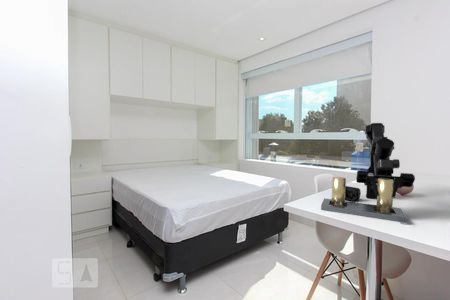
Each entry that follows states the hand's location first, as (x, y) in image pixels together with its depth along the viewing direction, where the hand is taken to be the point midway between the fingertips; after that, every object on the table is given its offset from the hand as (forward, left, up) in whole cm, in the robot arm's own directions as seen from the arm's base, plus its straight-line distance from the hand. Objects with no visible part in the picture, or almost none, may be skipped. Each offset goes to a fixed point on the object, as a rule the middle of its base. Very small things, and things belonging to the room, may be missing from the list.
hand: (385, 196), depth 85 cm
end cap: (-13, +20, -8) cm, 26 cm away
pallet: (-8, +1, -8) cm, 12 cm away
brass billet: (0, +1, -7) cm, 7 cm away
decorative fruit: (+13, +45, -8) cm, 48 cm away
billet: (-16, +1, -8) cm, 18 cm away
